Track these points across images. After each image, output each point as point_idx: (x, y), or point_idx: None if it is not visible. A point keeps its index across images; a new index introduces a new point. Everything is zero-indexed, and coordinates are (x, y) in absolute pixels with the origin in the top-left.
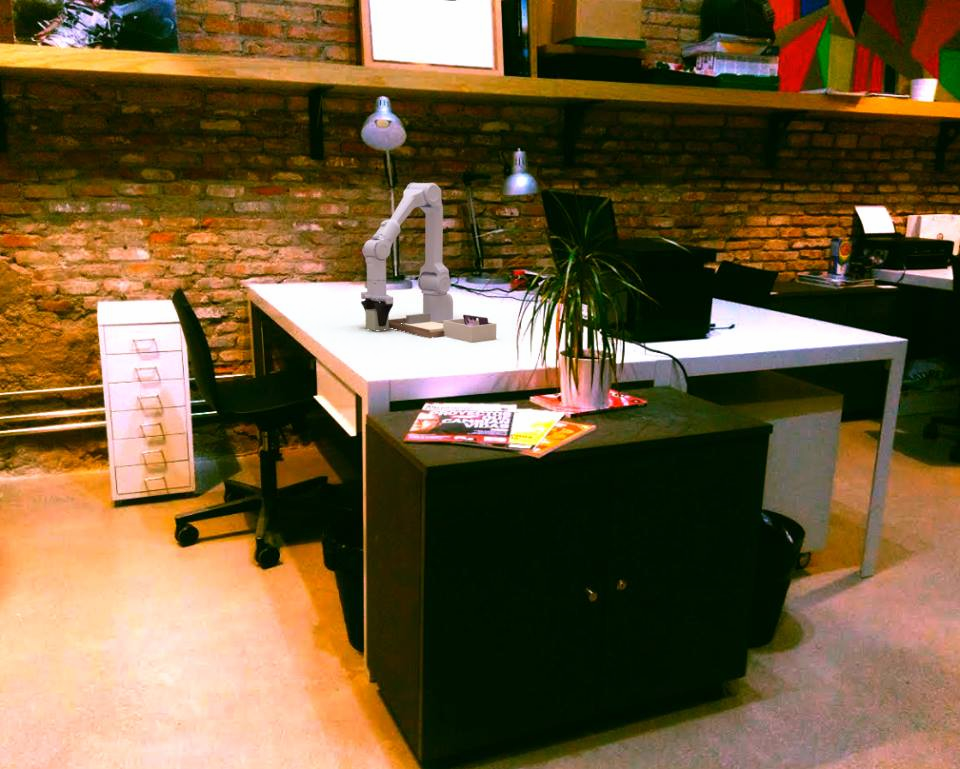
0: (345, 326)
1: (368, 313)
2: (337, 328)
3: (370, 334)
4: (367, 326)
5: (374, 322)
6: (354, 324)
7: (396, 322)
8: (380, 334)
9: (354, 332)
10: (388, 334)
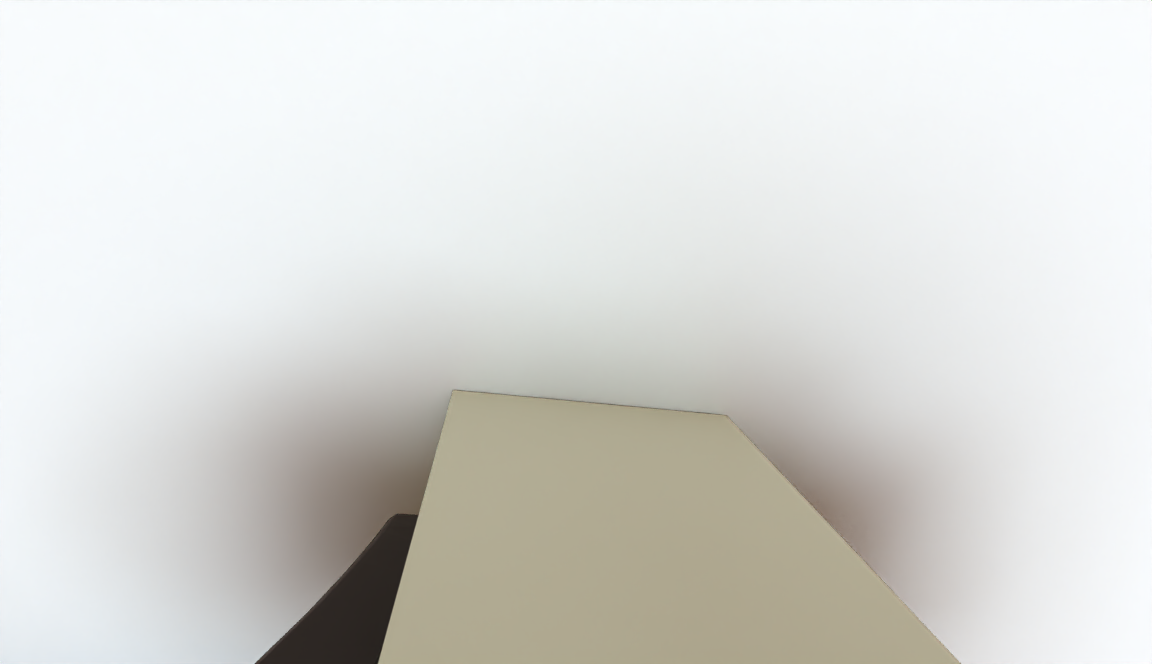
0: (1131, 348)
1: (773, 625)
2: (1134, 123)
3: (234, 120)
4: (694, 434)
5: (442, 469)
6: (1117, 540)
7: None
8: (114, 267)
9: (632, 47)
10: (26, 377)
